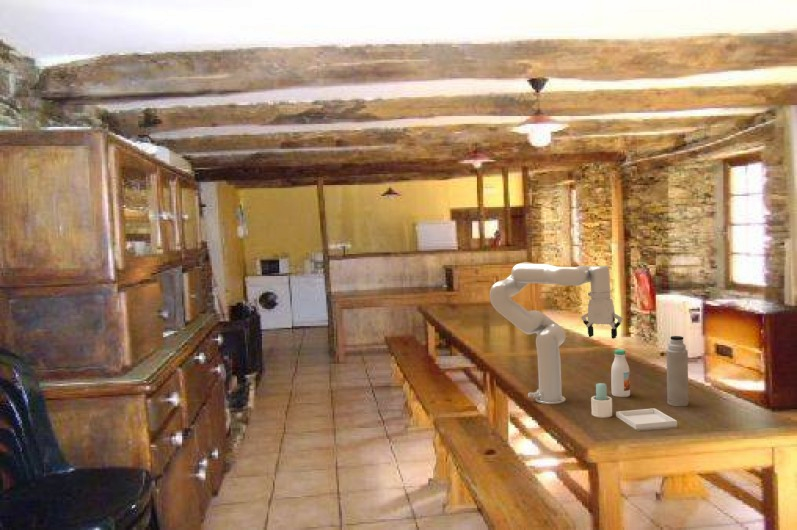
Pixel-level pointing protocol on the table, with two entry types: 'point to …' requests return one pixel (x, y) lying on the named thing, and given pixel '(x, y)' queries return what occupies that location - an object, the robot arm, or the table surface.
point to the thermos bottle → (677, 372)
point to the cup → (601, 407)
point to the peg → (601, 391)
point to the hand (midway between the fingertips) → (602, 337)
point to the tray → (647, 419)
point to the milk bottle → (620, 375)
